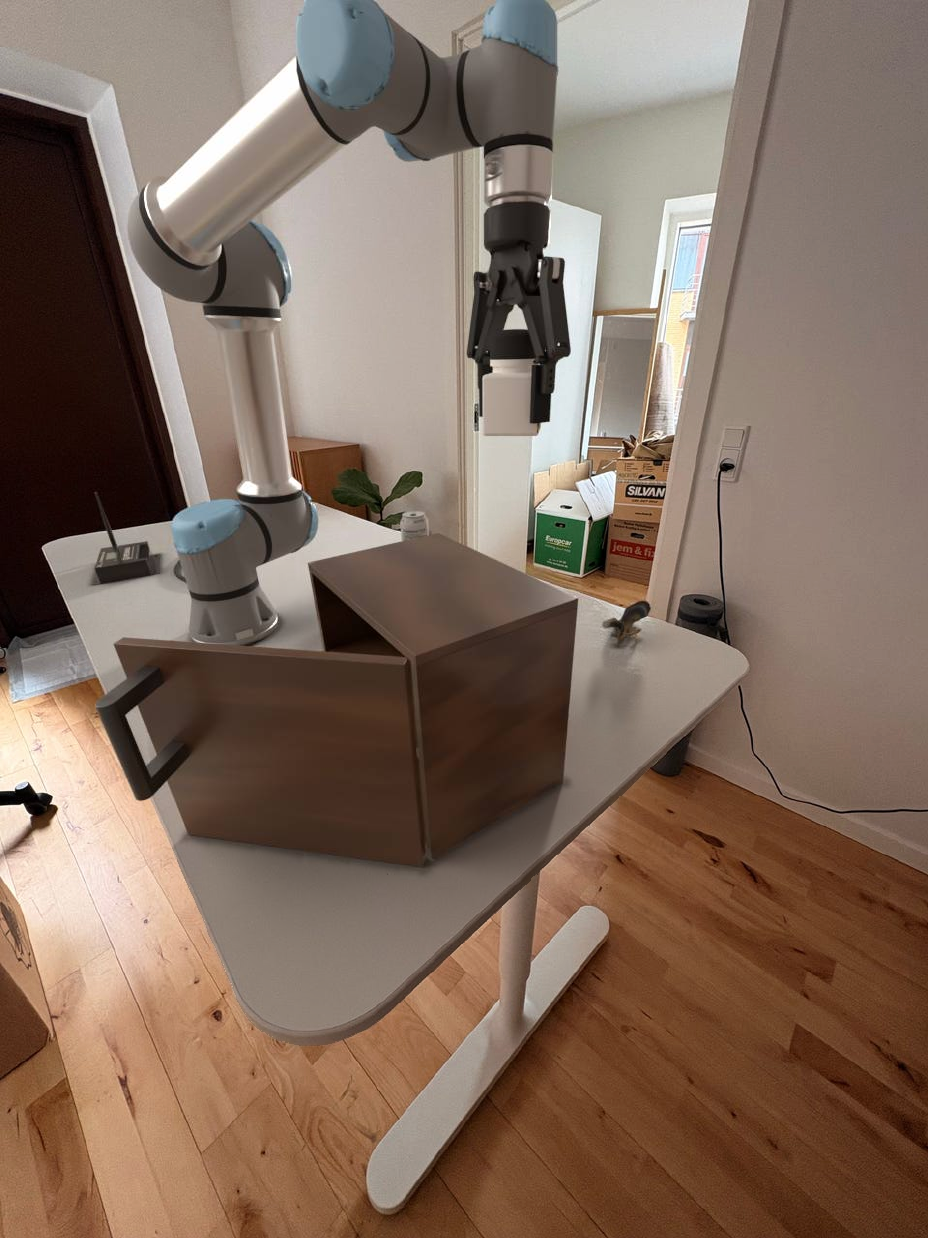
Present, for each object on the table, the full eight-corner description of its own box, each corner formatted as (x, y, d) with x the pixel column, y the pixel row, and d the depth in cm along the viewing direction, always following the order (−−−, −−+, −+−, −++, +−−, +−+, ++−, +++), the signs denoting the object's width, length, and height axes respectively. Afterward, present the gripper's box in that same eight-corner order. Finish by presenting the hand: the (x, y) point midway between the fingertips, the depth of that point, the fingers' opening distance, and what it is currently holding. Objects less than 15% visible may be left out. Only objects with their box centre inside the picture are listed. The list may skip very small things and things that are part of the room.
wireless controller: (159, 573, 124) (136, 503, 116) (91, 585, 119) (62, 512, 111) (159, 549, 140) (139, 486, 132) (99, 559, 134) (75, 493, 126)
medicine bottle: (538, 436, 65) (542, 327, 59) (482, 436, 66) (481, 329, 61) (540, 428, 71) (545, 329, 66) (489, 428, 72) (489, 331, 67)
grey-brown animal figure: (652, 648, 85) (660, 616, 91) (631, 615, 83) (640, 585, 89) (611, 659, 90) (621, 628, 96) (590, 628, 88) (602, 599, 94)
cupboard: (431, 859, 52) (415, 656, 41) (336, 724, 71) (307, 562, 60) (563, 782, 61) (578, 598, 50) (446, 681, 80) (438, 532, 69)
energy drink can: (433, 573, 120) (429, 509, 113) (429, 583, 114) (425, 517, 107) (408, 573, 120) (402, 509, 113) (402, 583, 115) (396, 517, 108)
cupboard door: (407, 925, 46) (380, 710, 35) (149, 884, 50) (54, 681, 39) (426, 857, 52) (408, 657, 41) (194, 826, 56) (123, 637, 45)
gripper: (435, 222, 64) (442, 414, 74) (564, 174, 47) (551, 429, 58) (483, 229, 68) (484, 410, 78) (618, 186, 51) (597, 423, 62)
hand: (512, 418), depth 68 cm, fingers closed on medicine bottle, 10 cm apart
